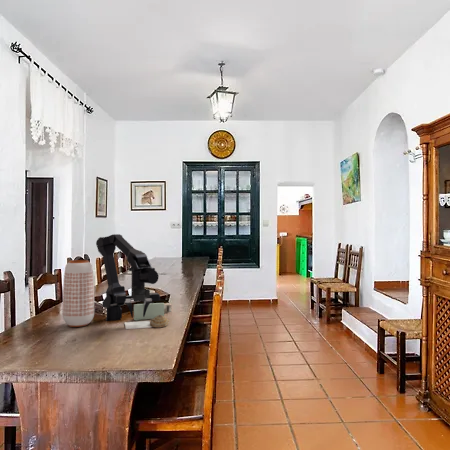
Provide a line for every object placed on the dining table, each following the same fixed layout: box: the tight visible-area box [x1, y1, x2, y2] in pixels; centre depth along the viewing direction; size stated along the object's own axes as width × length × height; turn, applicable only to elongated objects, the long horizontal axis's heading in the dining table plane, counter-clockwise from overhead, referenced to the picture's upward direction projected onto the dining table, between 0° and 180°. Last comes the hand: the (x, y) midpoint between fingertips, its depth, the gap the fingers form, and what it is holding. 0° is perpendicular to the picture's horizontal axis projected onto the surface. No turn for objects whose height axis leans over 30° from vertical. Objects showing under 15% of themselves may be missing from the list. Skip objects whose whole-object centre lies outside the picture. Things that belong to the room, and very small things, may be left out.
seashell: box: [150, 315, 170, 328], centre depth 171 cm, size 8×6×8 cm
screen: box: [133, 302, 165, 322], centre depth 182 cm, size 14×4×7 cm, turn 107°
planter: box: [61, 259, 95, 328], centre depth 172 cm, size 13×13×28 cm
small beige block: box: [164, 302, 172, 314], centre depth 197 cm, size 4×5×4 cm
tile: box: [124, 320, 153, 330], centre depth 170 cm, size 11×11×1 cm
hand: (138, 317), depth 171 cm, fingers open, 5 cm apart
